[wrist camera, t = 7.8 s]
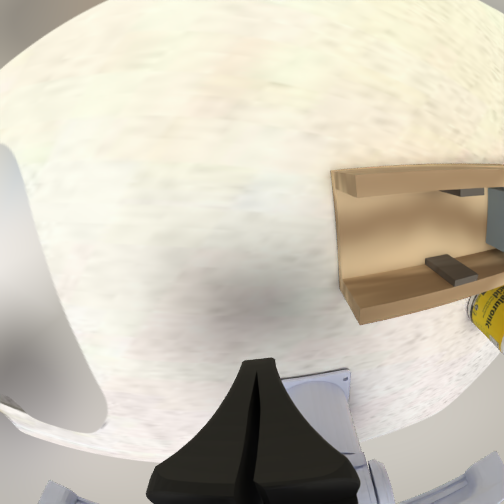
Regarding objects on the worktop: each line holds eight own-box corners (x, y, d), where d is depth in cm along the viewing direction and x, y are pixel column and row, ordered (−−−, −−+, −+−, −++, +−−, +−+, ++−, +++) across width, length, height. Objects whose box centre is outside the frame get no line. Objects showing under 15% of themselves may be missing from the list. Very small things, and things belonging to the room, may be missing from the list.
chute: (503, 253, 20) (535, 272, 15) (339, 288, 21) (359, 325, 16) (507, 164, 17) (544, 171, 12) (330, 170, 18) (355, 175, 13)
